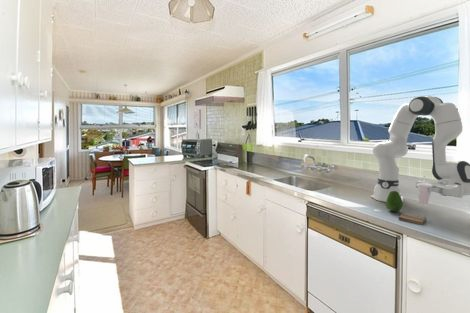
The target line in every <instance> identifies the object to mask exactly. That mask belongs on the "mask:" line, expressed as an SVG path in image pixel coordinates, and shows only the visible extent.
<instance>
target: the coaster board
mask: <svg viewBox="0 0 470 313" xmlns="http://www.w3.org/2000/svg"><path fill="white" fill-rule="evenodd" d="M398 220H399V221H403V222H407V223H410V224H411V223H412V224H417V225H421V226H423V225H424V224H425V222H426V221H427V217H426V216H422V215H417V214H412V213H406V212H402V214H401V215H399V217H398Z"/></svg>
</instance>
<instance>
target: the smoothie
mask: <svg viewBox="0 0 470 313" xmlns="http://www.w3.org/2000/svg"><path fill="white" fill-rule="evenodd" d="M422 181H423V183H418V184H417V186H418V188H417V191H418V194H417V195H418V203H419V204H426V205H428V204H429V200H430V196H431V193H432V192H430V191H428V188H432V187H433V185H431V184H425V181H426V176H425V175H423V179H422Z"/></svg>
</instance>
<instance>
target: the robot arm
mask: <svg viewBox="0 0 470 313" xmlns="http://www.w3.org/2000/svg"><path fill="white" fill-rule="evenodd" d="M420 116H423V117H425V116H426V117H427V116H431V118H433V121H434V127H435V128H434V129H435V130H434V131H435V132H434V133H435V134H434V136H433V137H432V140H431V150H432V168H431V173H432V175H433V177H434V178H435V179H436V180H438V181H437V182H436V181H432V180H431V181H430V180H425V184H431V185H433V187H432V188H428V191H430V192H431V193H433V192H434V193H437V194H439V195H440V196H443V197H452V198H453V197H454V198H460V199H462V198H463V196H470V163H469V162H468V161H465V160H458V161H452V162H451V161H450V162H447V158H446V155H447V154H446V148H447V146H448V144H449V143H451V142H452V141H453V140H456V139H458V137H459V136H460V135H461V133H462V132H463V122H462V118H461V115H460V112H459V110H458V108H457V106H456V105H455V104H454V103H452V102H443V100H442V99H441V98H440V97H436V96H431V95H419V96H415V97H413V98H412V99H411V100H410V101H409V103H403V104H402V105H401V106H399V108H398V109H397V112H396V113H395V115H394V116H393V119H392V122H391V124H390V126H389V129H388V134H389V140H388V141H380V142H377V143H376V144H374V146H373V147H372V153H373V155H374V156H375V157H376V159H377V163H378V178H377V182H376V183H377V184H376V185H375V186H374V189H373V195H371V196H370V198H372V199H374V200H377V201H379V202H382V203H383V202H385V203H386V201H387V198H388V195H389V193H390V192H391V191H396V192H398V193H399V194H400V197H401V199H402V204H404V196H402V194H401V189H400V187H399V185H400V181H399V172H400V168H399V167H398V165H397V164H396V159H399V158H402V157H404V156H406V155H407V154H408V151H409V148H408V146H407V143H408V138H409V134H410V132H411V130H412V127H413V126H414V123H415V121H416V119H417V118H418V117H420ZM418 183H423V180H416V181H415V188H417V189H418V186H417V184H418Z"/></svg>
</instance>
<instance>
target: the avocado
mask: <svg viewBox="0 0 470 313" xmlns="http://www.w3.org/2000/svg"><path fill="white" fill-rule="evenodd" d="M400 195H401V193H400V194H399V193H398V192H396V191H391V192H390V193H389V195H388V198H387V201H386V202H385V205H386V208H387V209H388V210H389V211H391V212H395V213H398V212H400V211H401V210H402V208H403V204H404V203H402V199H401V197H400Z"/></svg>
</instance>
